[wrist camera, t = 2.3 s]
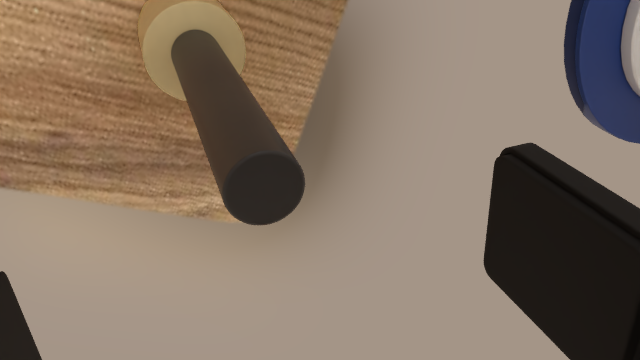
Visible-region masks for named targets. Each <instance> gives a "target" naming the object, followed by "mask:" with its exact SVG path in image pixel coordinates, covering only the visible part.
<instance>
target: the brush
mask: <svg viewBox="0 0 640 360" xmlns="http://www.w3.org/2000/svg"><path fill="white" fill-rule="evenodd" d="M137 31H138V38H139V43H140V47H141V52H142V57H143V61H144V65H145V68H146V70H147V73H148V75H149V76H150V78H151V79H152V81H153V82H154V83H155V84H156V85H157V86H158V87H159V88H160V89H161V90H162V91H164V92H165V93H166V94H168V95H170V96H172V97H174V98H177V99H180V100H183V101H187V103H188V106H189V108H190V111H191V114H192V117H193V119H194V122H195V125H196V128H197V130H198V133H199V136H200V139H201V141H202V144H203V147H204V150H205V152H206V155H207V158H208V161H209V163H210V166H211V169H212V172H213V174H214V177H215V180H216V183H217V185H218V188H219V191H220V193H221V196H222V199H223V202H224V204H225V207H226V208H227V210H228V211H229V212H230V214H231V215H232V216H234V217H235V218H236V219H238V220H240V221H242V222H244V223H247V224H251V225H267V224H272V223H275V222H277V221H279V220H281V219H283V218H285V217H286V216H288V215H289V214H290V213H291V212H292V211H293V210H294V209H295V208H296V207H297V205H298V204H299V202H300V200H301V198H302V196H303V192H304V187H305V178H304V173H303V170H302V169H301V166H300V165H299V163H298V162H297V160H296V159H295V157H294V156H293V154H292V153H291V151H290V150H289V148H288V147H287V145H286V144H285V142H284V141H283V139H282V138H281V136H280V135H279V133H278V132H277V130H276V129H275V127H274V126H273V124H272V123H271V121H270V120H269V118H268V117H267V115H266V114H265V112H264V111H263V109H262V108H261V106H260V105H259V103H258V102H257V100H256V99H255V97H254V96H253V94H252V93H251V91H250V90H249V88H248V87H247V85H246V84H245V83H244V81H243V80H242V78H241V77H240V74H241V72H242V70H243V67H244V64H245V59H246V45H245V40H244V36H243V33H242V31H241V29H240V27H239V26H238V24H237V23H236V21H235V20H234V19H233V18H232V17H231V15H230V14H229V13H228V12H227V11H226V10H225V9H224V7H223V6H222V5H221V4H220V3H219V2H218V1H217V0H147V1H146V2H145V4H144V6H143V7H142V9H141V12H140V14H139V18H138V25H137Z"/></svg>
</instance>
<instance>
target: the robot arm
mask: <svg viewBox="0 0 640 360" xmlns="http://www.w3.org/2000/svg"><path fill="white" fill-rule="evenodd" d="M621 58H622V66H623V70H624V73H625V76H626V79H627V81H628V83H629V84H630V86H631V88H632V89H633V91H634V92H635V93H636V94H638V95H639V96H640V0H631V1H630V3H629V6H628V8H627V12H626V17H625V21H624V25H623V29H622V40H621ZM484 267H485V270H486V272H487V274H488V276H489V277H490V278H491V279H492V280H493V281H494V282H495V283H496V284H497V285H498V286H499V287H500V288H501V289H502V290H503V291H504V292H505V293H506V294H507V296H508V297H509V298H510V299H511V300H512V301H513V302H514V303H515V304H516V305H517V306H518V307H519V308H520V309H521V310H522V311H523V312H524V313H525V314H526V315H527V316H528V317H529V318H530V319H531V320H532V321H533V322H534V323H535V324H536V325H537V326H538V327H539V328H540V329H541V330H542V331H543V332H544V333H545V334H546V335H547V336H548V337H549V338H550V339H551V341H553V343H555V345H556V346H558V348H559V349H560V350H561V351H562V352H564V354H565V355H566V356H567V357H568V358H569V359H570V360H640V209H639V208H638V207H636V206H635V205H633V204H632V203H630V202H628V201H627V200H625V199H623V198H622V197H620V196H619V195H617V194H615V193H614V192H612V191H610V190H608V189H607V188H605V187H604V186H602V185H601V184H599V183H597V182H596V181H594V180H593V179H591V178H589V177H588V176H586V175H584V174H583V173H581V172H580V171H578V170H576V169H575V168H573V167H571V166H570V165H568V164H567V163H565V162H563V161H562V160H560V159H558V158H557V157H555V156H554V155H552V154H550V153H549V152H547V151H545V150H544V149H542V148H541V147H539V146H537V145H536V144H533V143H526V144H521V145H517V146H512V147H509V148H505V149H504V150H503V151H502V152H501V154H500V156H499V157H498V158H497V159H496V161H495V164H494V171H493V180H492V189H491V198H490V208H489V217H488V225H487V234H486V244H485V253H484ZM0 360H42V359H41V356H40V354H39V352H38V349H37V347H36V344H35V342H34V340H33V337H32V335H31V332H30V330H29V327H28V325H27V323H26V320H25V318H24V315H23V313H22V311H21V308H20V306H19V303H18V301H17V299H16V296H15V294H14V292H13V289H12V287H11V284H10V282H9V280H8V277H7V275H6V274H5V273H4V272H3V271H1V272H0Z"/></svg>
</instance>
